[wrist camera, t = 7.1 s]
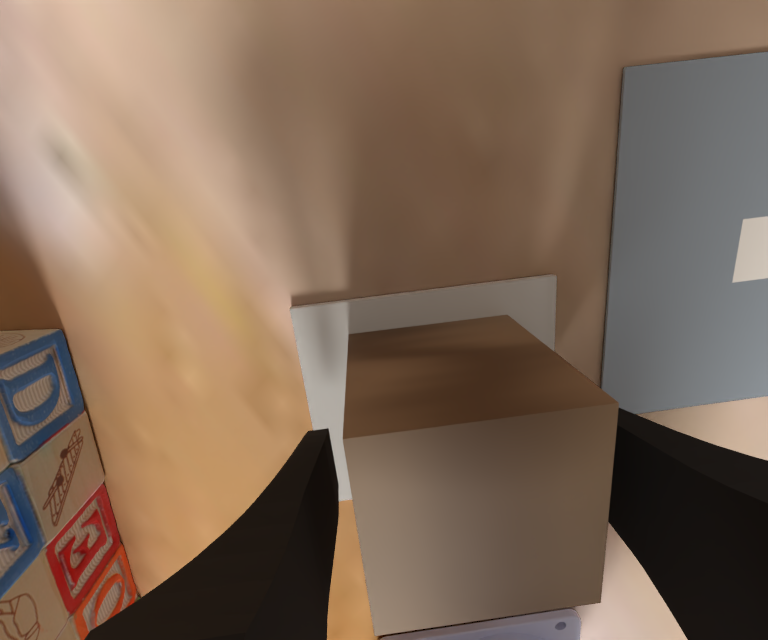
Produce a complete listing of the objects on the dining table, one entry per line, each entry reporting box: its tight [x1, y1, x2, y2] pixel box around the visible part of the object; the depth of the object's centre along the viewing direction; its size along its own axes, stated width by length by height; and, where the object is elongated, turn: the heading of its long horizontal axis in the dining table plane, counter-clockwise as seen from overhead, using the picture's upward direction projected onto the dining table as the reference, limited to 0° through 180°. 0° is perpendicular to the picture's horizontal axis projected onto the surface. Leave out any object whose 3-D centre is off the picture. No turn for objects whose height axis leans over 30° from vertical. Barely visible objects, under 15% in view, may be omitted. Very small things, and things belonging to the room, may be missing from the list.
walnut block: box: [343, 315, 619, 636], centre depth 11 cm, size 6×6×6 cm
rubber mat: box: [290, 274, 557, 501], centre depth 14 cm, size 9×8×1 cm
